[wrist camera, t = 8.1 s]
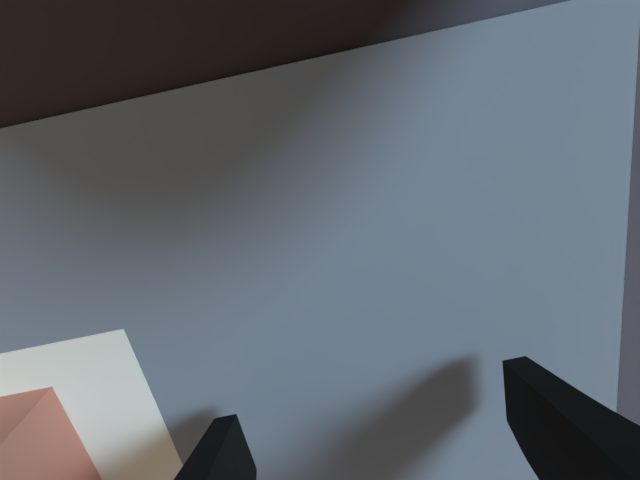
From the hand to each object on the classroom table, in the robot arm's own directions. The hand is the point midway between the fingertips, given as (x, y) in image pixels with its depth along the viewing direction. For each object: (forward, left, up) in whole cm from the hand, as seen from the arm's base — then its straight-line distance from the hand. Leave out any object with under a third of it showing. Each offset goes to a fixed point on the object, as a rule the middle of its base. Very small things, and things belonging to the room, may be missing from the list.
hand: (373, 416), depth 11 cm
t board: (0, +8, -1) cm, 8 cm away
